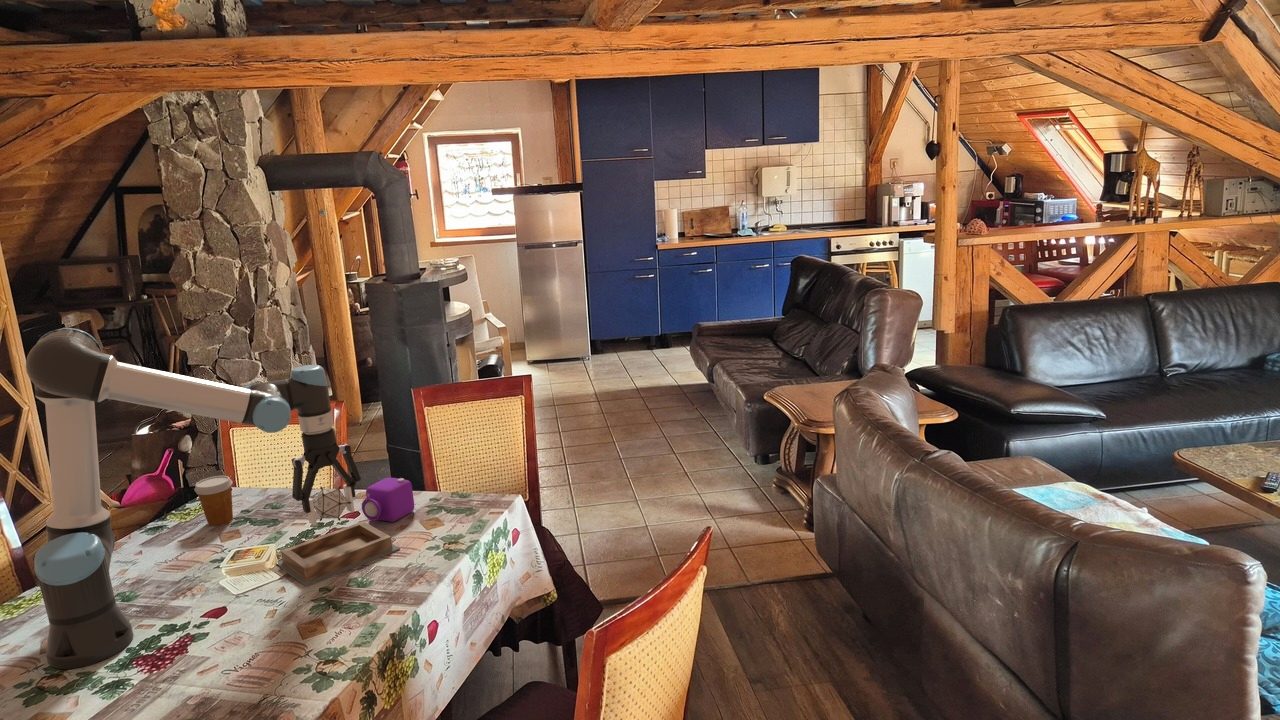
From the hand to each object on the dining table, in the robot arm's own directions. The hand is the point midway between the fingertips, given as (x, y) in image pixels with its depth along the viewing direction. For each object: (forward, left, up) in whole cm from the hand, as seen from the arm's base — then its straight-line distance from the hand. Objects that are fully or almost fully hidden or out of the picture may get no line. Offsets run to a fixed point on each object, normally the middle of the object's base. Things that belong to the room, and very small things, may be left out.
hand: (332, 517), depth 207 cm
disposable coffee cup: (-12, +49, -11) cm, 52 cm away
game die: (0, 0, -1) cm, 1 cm away
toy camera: (+20, +12, -11) cm, 26 cm away
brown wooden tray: (0, 0, -11) cm, 11 cm away
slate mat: (0, 0, -11) cm, 11 cm away
